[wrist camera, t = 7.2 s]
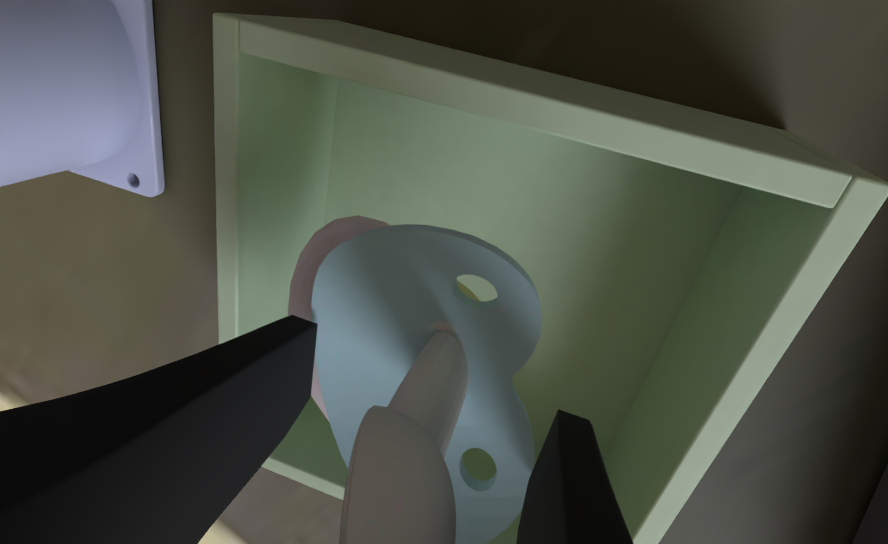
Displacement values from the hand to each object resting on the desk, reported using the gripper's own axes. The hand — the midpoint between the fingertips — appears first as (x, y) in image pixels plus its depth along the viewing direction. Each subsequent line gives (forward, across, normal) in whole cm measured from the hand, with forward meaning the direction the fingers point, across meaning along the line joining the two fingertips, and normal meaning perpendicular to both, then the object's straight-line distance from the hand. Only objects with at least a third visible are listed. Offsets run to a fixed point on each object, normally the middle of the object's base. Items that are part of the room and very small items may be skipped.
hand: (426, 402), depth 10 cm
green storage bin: (+7, 0, 0) cm, 7 cm away
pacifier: (+2, +1, 0) cm, 2 cm away
